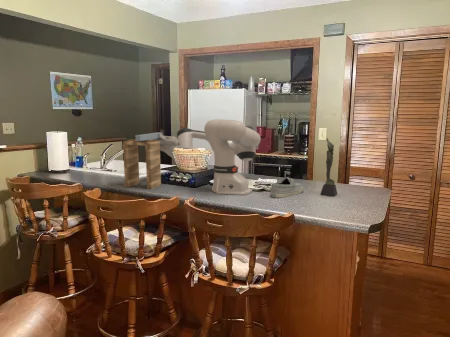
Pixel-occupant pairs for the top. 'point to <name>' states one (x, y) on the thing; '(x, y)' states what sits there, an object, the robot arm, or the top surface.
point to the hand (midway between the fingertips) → (155, 134)
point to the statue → (329, 186)
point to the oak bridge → (133, 163)
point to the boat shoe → (285, 188)
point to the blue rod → (147, 136)
